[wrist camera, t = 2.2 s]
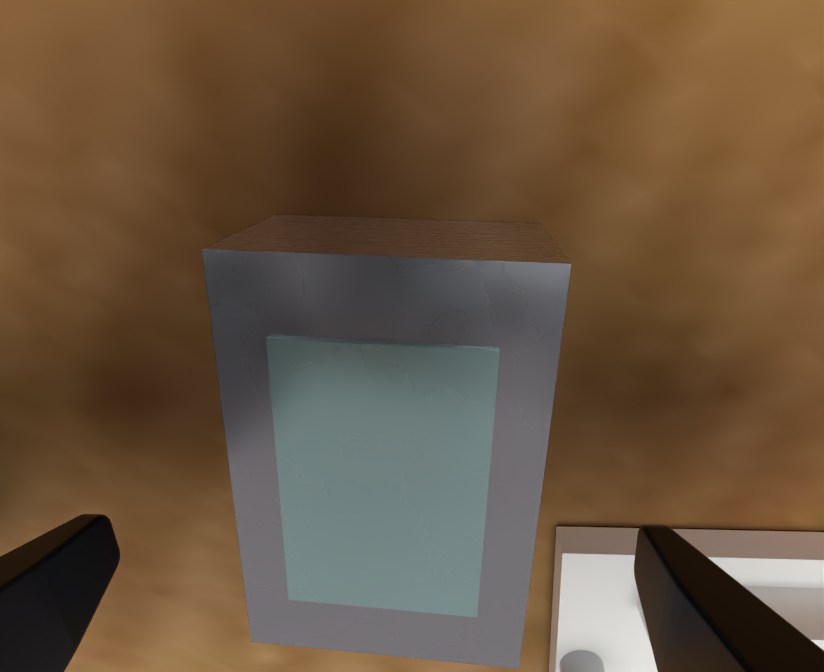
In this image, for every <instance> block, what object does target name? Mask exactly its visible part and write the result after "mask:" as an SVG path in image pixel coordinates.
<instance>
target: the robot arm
mask: <svg viewBox="0 0 824 672" xmlns="http://www.w3.org/2000/svg"><path fill="white" fill-rule="evenodd" d="M119 559H120V550H119V547H118V543H117V540H116V537H115V534H114V531H113V527H112V524H111V521H110V519H109V518H108V517H107V516H105V515H102V514H84V515H80V516H78V517H76V518H74V519H72V520H70V521H68V522H66V523H64V524H62V525H60V526H59V527H57V528H55V529H53V530H51V531H49V532H47V533H45V534H43V535H41V536H39V537H37V538H36V539H34V540H32V541H30V542H28V543H26V544H24V545H22V546H20V547H18V548H16V549H14V550H12V551H11V552H9V553H7V554H5V555H3V556H1V557H0V672H64V671H65V669H66V667H67V666H68V664H69V662H70V660H71V659H72V657H73V655H74V653H75V652H76V650H77V648H78V646H79V644H80V642H81V640H82V638H83V636H84V634H85V632H86V630H87V628H88V626H89V624H90V622H91V620H92V618H93V616H94V614H95V611H96V609H97V607H98V605H99V603H100V601H101V599H102V597H103V595H104V593H105V591H106V589H107V587H108V585H109V583H110V581H111V579H112V577H113V575H114V573H115V570H116V568H117V566H118V563H119ZM634 576H635V582H636V586H637V590H638V594H639V598H640V602H641V606H642V610H643V614H644V618H645V623H646V627H647V631H648V635H649V639H650V643H651V647H652V651H653V655H654V659H655V663H656V667H657V671H658V672H824V650H823V649H821V648H820V647H819V646H818V645H816V644H815V643H814V642H813V641H811V640H810V639H809V638H808V637H806V636H805V635H804V634H803V633H801V632H800V631H799V630H798V629H796V628H795V627H794V626H793V625H791V624H790V623H789V622H788V621H786V620H785V619H784V618H783V617H781V616H780V615H779V614H778V613H776V612H775V611H774V610H773V609H771V608H770V607H769V606H768V605H766V604H765V603H764V602H763V601H761V600H760V599H759V598H758V597H756V596H755V595H754V594H753V593H751V592H750V591H749V590H748V589H746V588H745V587H744V586H743V585H741V584H740V583H739V582H738V581H736V580H735V579H734V578H733V577H731V576H730V575H729V574H728V573H726V572H725V571H724V570H723V569H721V568H720V567H719V566H718V565H716V564H715V563H714V562H713V561H711V560H710V559H709V558H708V557H706V556H705V555H704V554H703V553H701V552H700V551H699V550H698V549H696V548H695V547H694V546H693V545H691V544H690V543H689V542H688V541H686V540H685V539H684V538H683V537H681V536H680V535H679V534H678V533H676V532H675V531H674V530H673V529H671V528H670V527H668V526H665V525H643V526H641V527H640V528H639V531H638V536H637V544H636V552H635V560H634Z"/></svg>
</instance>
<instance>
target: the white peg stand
mask: <svg viewBox="0 0 824 672" xmlns="http://www.w3.org/2000/svg"><path fill="white" fill-rule="evenodd" d="M673 530H674V531H675V532H676V533H678V534H679V535H680V536H681V537H683V538H684V539H685V540H686V541H688V542H689V543H690V544H691V545H693V546H694V547H695V548H696V549H698V550H699V551H700V552H701V553H703V554H704V555H705V556H706V557H708V558H709V559H710V560H711V561H713V562H714V563H715V564H716V565H718V566H719V567H720V568H721V569H723V570H724V571H725V572H726V573H728V574H729V575H730V576H731V577H733V578H734V579H735V580H736V581H738V582H739V583H740V584H741V585H743V586H744V587H745V588H746V589H748V590H749V591H750V592H751V593H753V594H754V595H755V596H756V597H758V598H759V599H760V600H761V601H763V602H764V603H765V604H766V605H768V606H769V607H770V608H771V609H773V610H774V611H775V612H776V613H778V614H779V615H780V616H781V617H783V618H784V619H785V620H786V621H788V622H789V623H790V624H791V625H793V626H794V627H795V628H796V629H798V630H799V631H800V632H801V633H803V634H804V635H805V636H806V637H808V638H809V639H810V640H811V641H813V642H814V643H815V644H816V645H818V646H819V647H820V648H821V649H823V650H824V532H794V531H747V530H700V529H673ZM638 531H639V528H606V527H559V526H556V544H555V563H554V581H553V600H552V618H551V637H550V655H549V672H658V671H657V667H656V663H655V659H654V655H653V651H652V647H651V643H650V639H649V635H648V631H647V627H646V623H645V618H644V614H643V610H642V606H641V602H640V598H639V594H638V590H637V586H636V582H635V576H634V560H635V552H636V544H637V536H638Z"/></svg>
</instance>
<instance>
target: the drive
mask: <svg viewBox="0 0 824 672" xmlns="http://www.w3.org/2000/svg"><path fill="white" fill-rule="evenodd" d="M202 254H203V262H204V270H205V278H206V286H207V294H208V302H209V310H210V318H211V326H212V334H213V342H214V350H215V358H216V366H217V374H218V381H219V389H220V397H221V405H222V413H223V421H224V429H225V437H226V445H227V453H228V461H229V469H230V477H231V485H232V493H233V501H234V509H235V517H236V525H237V533H238V541H239V549H240V557H241V565H242V572H243V580H244V588H245V596H246V604H247V612H248V620H249V628H250V636H251V642H259V643H269V644H279V645H289V646H299V647H309V648H319V649H329V650H339V651H349V652H359V653H369V654H379V655H388V656H398V657H408V658H418V659H428V660H438V661H448V662H458V663H468V664H478V665H488V666H498V667H508V668H518V669H519V663H520V655H521V647H522V640H523V632H524V624H525V617H526V609H527V601H528V594H529V586H530V578H531V571H532V563H533V555H534V548H535V540H536V532H537V525H538V517H539V509H540V502H541V494H542V486H543V479H544V471H545V463H546V456H547V448H548V440H549V433H550V425H551V417H552V410H553V402H554V394H555V387H556V379H557V371H558V364H559V356H560V348H561V341H562V333H563V325H564V318H565V310H566V302H567V295H568V287H569V279H570V272H571V263H570V261H569V260H568V259H567V257H566V256H565V255H564V253H563V252H562V251H561V250H560V248H559V247H558V246H557V244H556V243H555V242H554V240H553V239H552V238H551V236H550V235H549V234H548V232H547V231H546V230H545V228H544V227H543V226H542V224H541V223H514V222H485V221H456V220H427V219H398V218H369V217H340V216H311V215H282V214H276V215H274V216H272V217H269V218H267V219H265V220H263V221H261V222H259V223H257V224H254V225H252V226H250V227H248V228H246V229H244V230H242V231H239V232H237V233H235V234H233V235H231V236H229V237H227V238H224V239H222V240H220V241H218V242H216V243H214V244H212V245H209V246H207V247H205V248H203V249H202Z"/></svg>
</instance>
